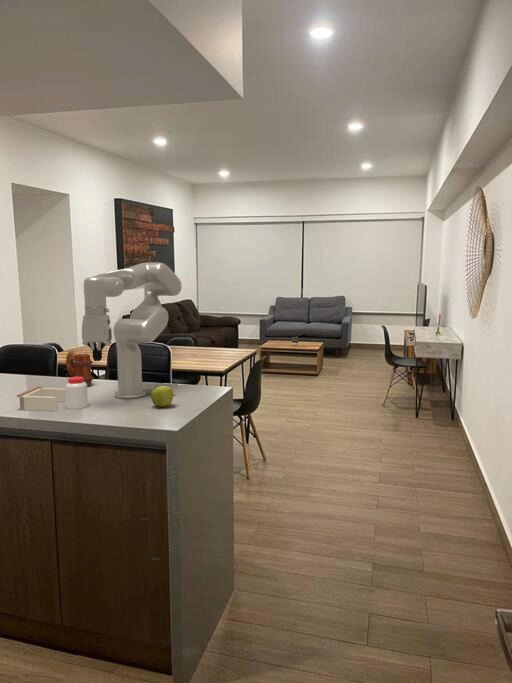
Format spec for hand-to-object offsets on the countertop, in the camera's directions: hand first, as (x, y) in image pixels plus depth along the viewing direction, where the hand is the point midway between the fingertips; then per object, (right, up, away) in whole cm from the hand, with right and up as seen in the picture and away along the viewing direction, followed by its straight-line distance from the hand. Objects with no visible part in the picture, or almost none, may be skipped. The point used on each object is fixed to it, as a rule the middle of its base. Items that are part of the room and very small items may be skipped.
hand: (97, 360), depth 189 cm
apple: (+24, -18, +3) cm, 30 cm away
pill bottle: (-9, -18, +4) cm, 20 cm away
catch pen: (-21, -17, +5) cm, 28 cm away
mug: (-20, -13, +39) cm, 46 cm away
